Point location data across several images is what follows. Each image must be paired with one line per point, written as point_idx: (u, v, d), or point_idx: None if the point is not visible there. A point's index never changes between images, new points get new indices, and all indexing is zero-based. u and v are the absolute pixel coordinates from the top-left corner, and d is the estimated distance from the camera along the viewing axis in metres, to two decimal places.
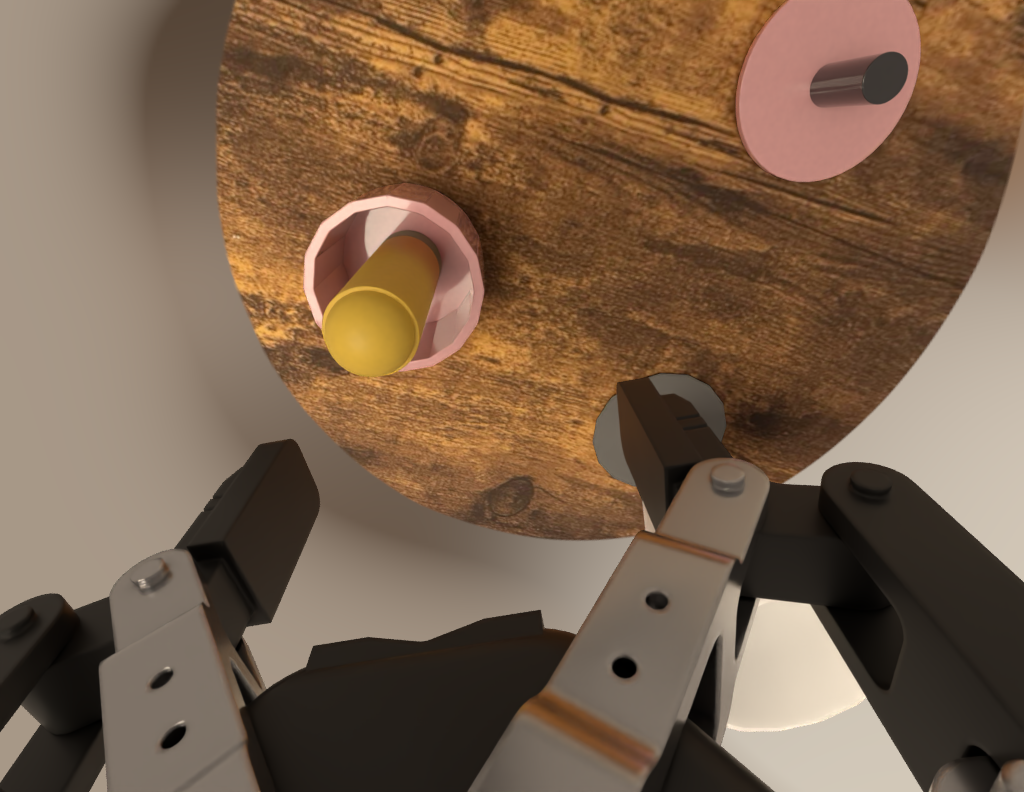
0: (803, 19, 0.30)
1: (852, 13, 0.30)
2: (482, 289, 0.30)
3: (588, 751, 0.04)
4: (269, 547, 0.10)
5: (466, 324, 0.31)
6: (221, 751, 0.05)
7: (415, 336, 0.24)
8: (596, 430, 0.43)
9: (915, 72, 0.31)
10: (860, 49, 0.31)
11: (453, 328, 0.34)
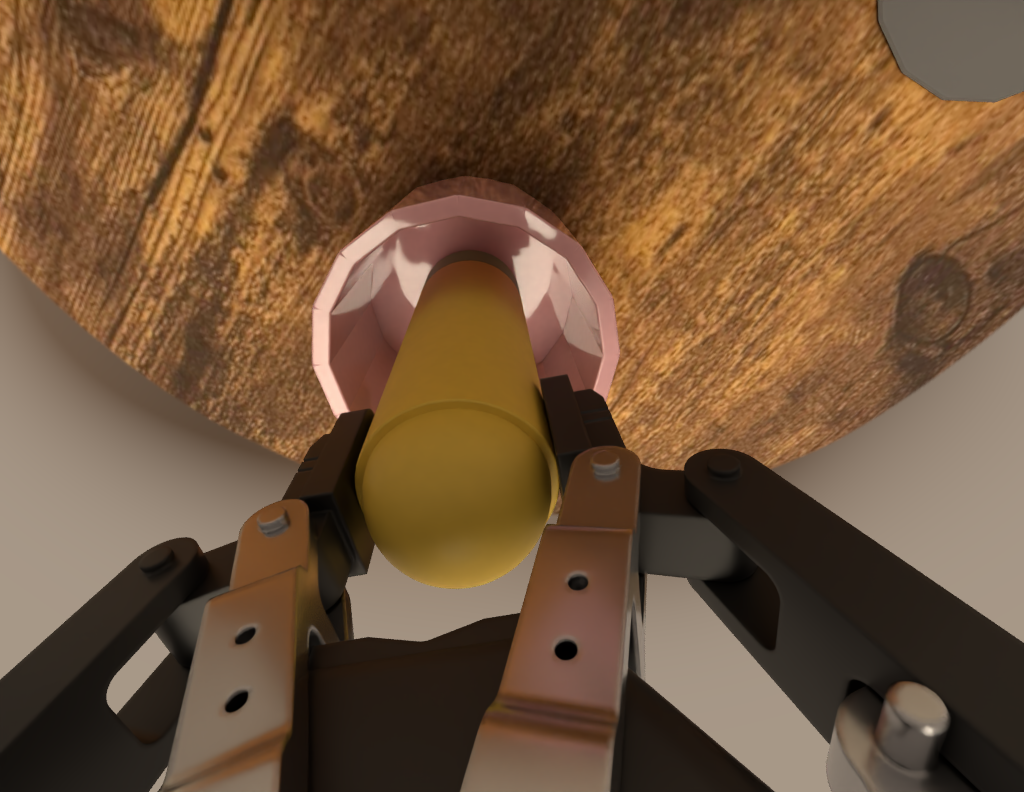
0: None
1: None
2: (520, 209, 0.15)
3: (588, 751, 0.04)
4: None
5: (573, 266, 0.16)
6: (267, 735, 0.05)
7: (499, 413, 0.10)
8: (924, 81, 0.20)
9: None
10: None
11: (581, 285, 0.19)
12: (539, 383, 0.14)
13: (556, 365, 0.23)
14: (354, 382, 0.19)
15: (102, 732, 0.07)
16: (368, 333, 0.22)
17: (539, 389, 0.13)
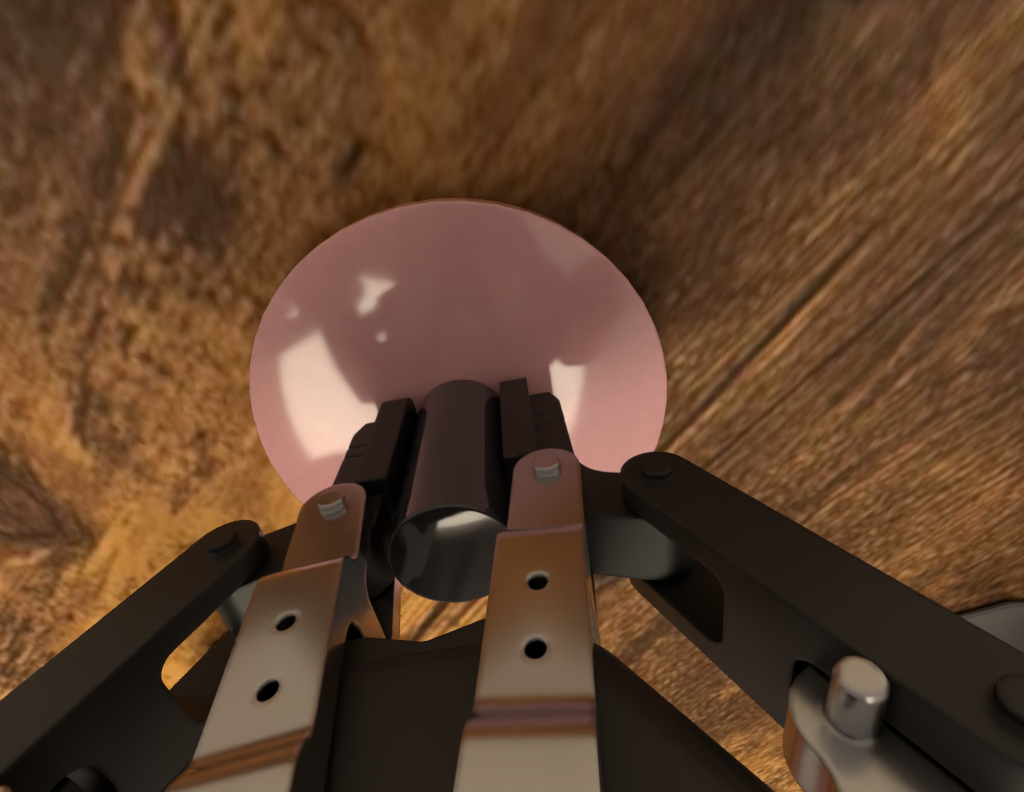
0: (321, 460, 0.14)
1: (330, 368, 0.13)
2: None
3: (588, 751, 0.04)
4: None
5: None
6: (289, 733, 0.05)
7: None
8: None
9: (504, 216, 0.11)
10: (409, 352, 0.13)
11: None
12: None
13: None
14: None
15: (155, 707, 0.07)
16: None
17: None
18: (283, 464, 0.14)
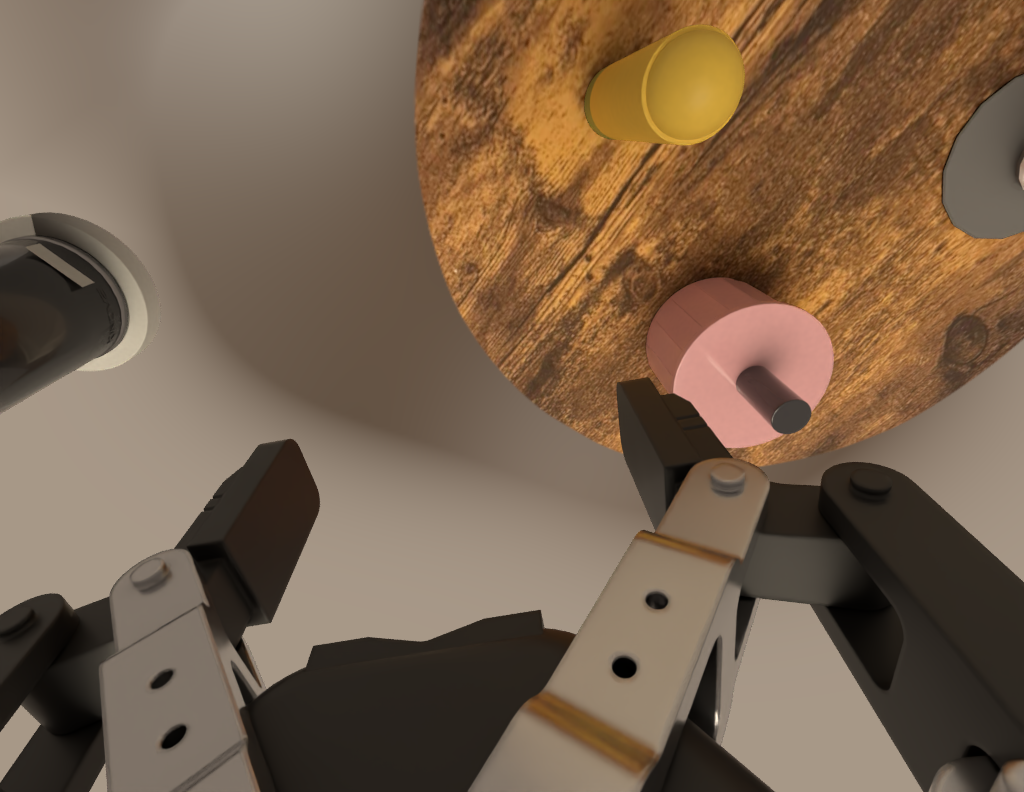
0: (693, 398, 0.36)
1: (710, 361, 0.34)
2: None
3: (588, 751, 0.04)
4: (269, 547, 0.10)
5: None
6: (222, 751, 0.05)
7: None
8: (965, 230, 0.39)
9: (787, 308, 0.33)
10: (740, 355, 0.34)
11: None
12: None
13: None
14: None
15: None
16: None
17: None
18: None
